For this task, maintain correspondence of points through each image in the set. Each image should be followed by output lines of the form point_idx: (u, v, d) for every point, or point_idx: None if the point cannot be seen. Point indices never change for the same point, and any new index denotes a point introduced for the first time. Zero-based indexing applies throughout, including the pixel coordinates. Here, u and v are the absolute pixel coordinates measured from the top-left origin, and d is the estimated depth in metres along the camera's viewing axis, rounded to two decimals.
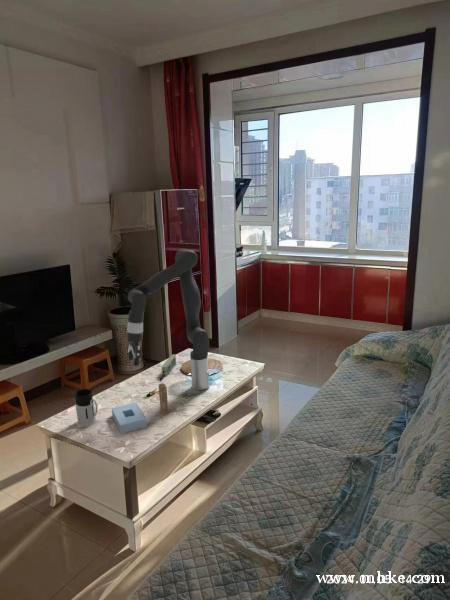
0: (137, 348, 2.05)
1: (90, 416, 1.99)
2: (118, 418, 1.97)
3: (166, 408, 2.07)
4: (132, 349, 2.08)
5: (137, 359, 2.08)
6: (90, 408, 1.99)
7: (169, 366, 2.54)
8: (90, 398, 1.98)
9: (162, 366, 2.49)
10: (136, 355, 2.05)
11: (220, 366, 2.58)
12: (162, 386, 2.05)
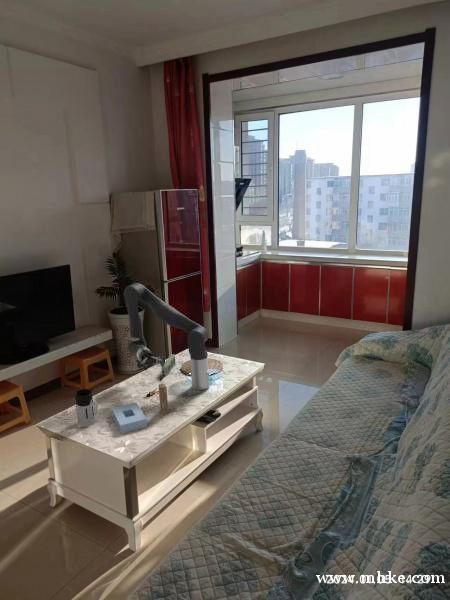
0: (136, 364, 2.20)
1: (90, 416, 1.99)
2: (118, 418, 1.97)
3: (166, 408, 2.07)
4: None
5: (142, 366, 2.15)
6: (90, 408, 1.99)
7: (169, 366, 2.54)
8: (90, 398, 1.98)
9: None
10: None
11: (220, 366, 2.58)
12: (162, 386, 2.05)
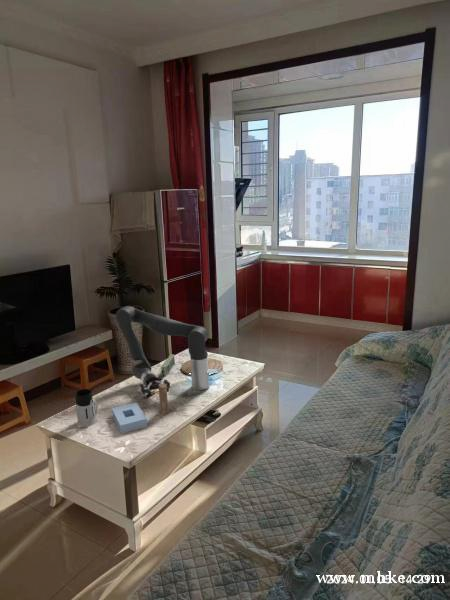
0: None
1: (90, 416, 1.99)
2: (118, 418, 1.97)
3: (166, 408, 2.07)
4: None
5: (146, 391, 2.13)
6: (90, 408, 1.99)
7: (168, 366, 2.55)
8: (90, 398, 1.98)
9: (161, 366, 2.49)
10: (142, 392, 2.15)
11: (220, 366, 2.58)
12: (162, 386, 2.05)
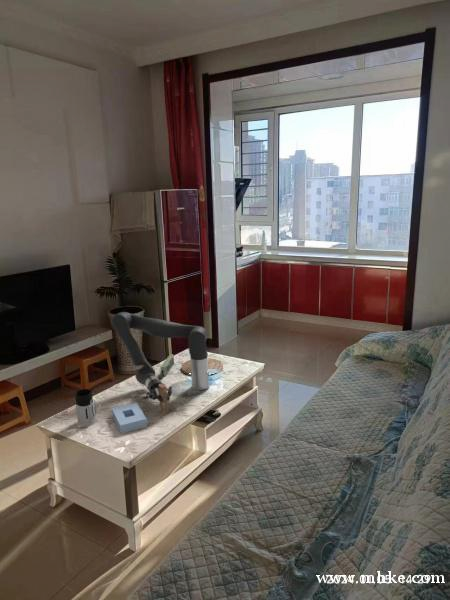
0: (147, 396, 2.10)
1: (90, 416, 1.99)
2: (118, 418, 1.97)
3: (166, 408, 2.07)
4: None
5: (157, 397, 2.06)
6: (90, 408, 1.99)
7: (168, 366, 2.55)
8: (90, 398, 1.98)
9: (161, 366, 2.49)
10: None
11: (220, 366, 2.58)
12: (162, 386, 2.05)
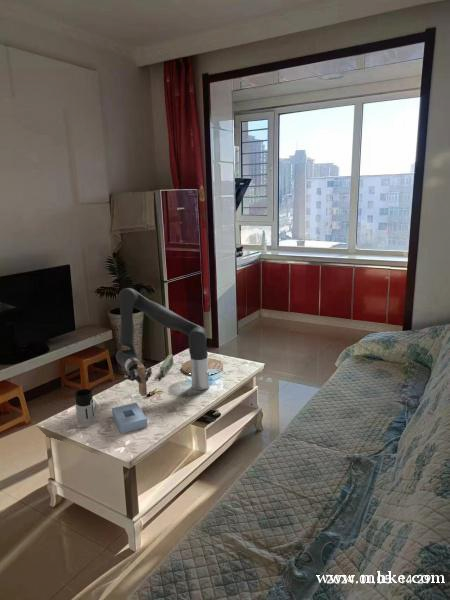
0: (125, 377, 2.03)
1: (90, 416, 1.99)
2: (118, 418, 1.97)
3: (144, 389, 2.00)
4: None
5: (136, 378, 2.00)
6: (90, 408, 1.99)
7: (167, 366, 2.55)
8: (90, 398, 1.98)
9: (160, 366, 2.49)
10: None
11: (220, 366, 2.58)
12: (140, 366, 1.98)
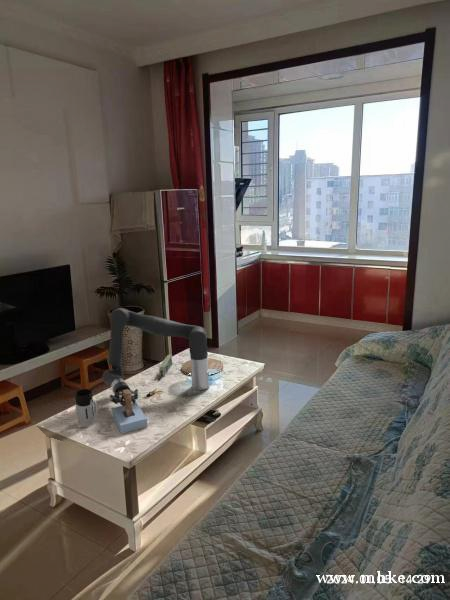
0: (110, 399, 2.02)
1: (90, 416, 1.99)
2: (118, 418, 1.97)
3: (131, 415, 1.99)
4: None
5: (119, 401, 1.98)
6: (90, 408, 1.99)
7: (166, 366, 2.55)
8: (90, 398, 1.98)
9: (160, 366, 2.49)
10: (114, 402, 2.00)
11: (220, 366, 2.58)
12: (126, 392, 1.97)
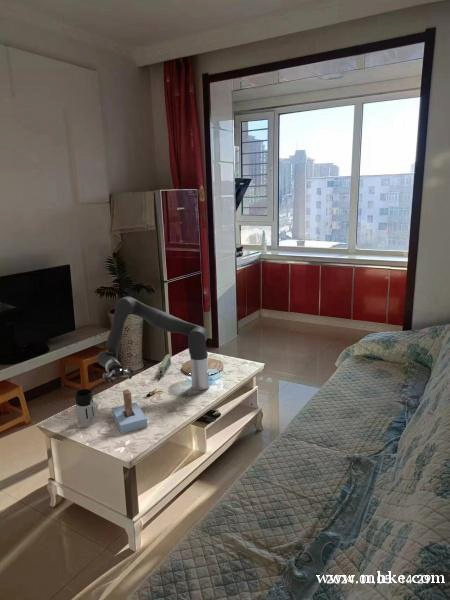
0: (103, 377, 2.13)
1: (90, 416, 1.99)
2: (118, 418, 1.97)
3: (131, 415, 1.99)
4: None
5: (108, 379, 2.08)
6: (90, 408, 1.99)
7: (165, 366, 2.55)
8: (90, 398, 1.98)
9: (159, 366, 2.49)
10: (104, 380, 2.10)
11: (221, 366, 2.58)
12: (126, 392, 1.97)
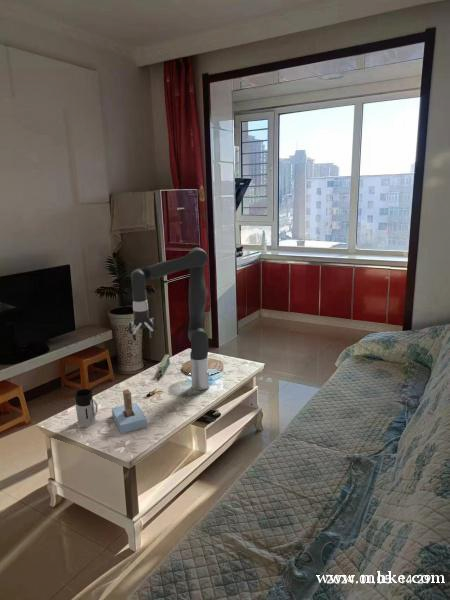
0: (128, 323, 2.18)
1: (90, 416, 1.99)
2: (118, 418, 1.97)
3: (131, 415, 1.99)
4: None
5: (132, 334, 2.20)
6: (90, 408, 1.99)
7: (165, 366, 2.55)
8: (90, 398, 1.98)
9: (159, 366, 2.49)
10: (128, 329, 2.19)
11: (221, 366, 2.58)
12: (126, 392, 1.97)
